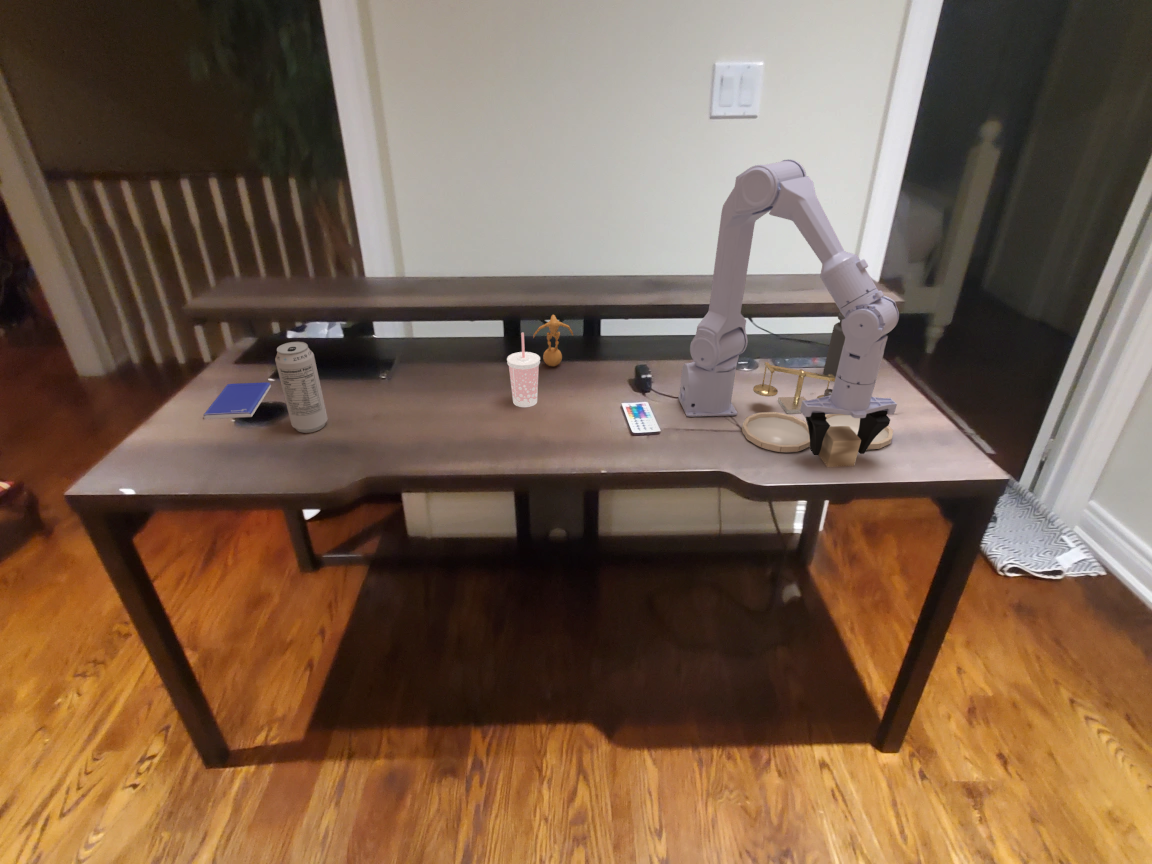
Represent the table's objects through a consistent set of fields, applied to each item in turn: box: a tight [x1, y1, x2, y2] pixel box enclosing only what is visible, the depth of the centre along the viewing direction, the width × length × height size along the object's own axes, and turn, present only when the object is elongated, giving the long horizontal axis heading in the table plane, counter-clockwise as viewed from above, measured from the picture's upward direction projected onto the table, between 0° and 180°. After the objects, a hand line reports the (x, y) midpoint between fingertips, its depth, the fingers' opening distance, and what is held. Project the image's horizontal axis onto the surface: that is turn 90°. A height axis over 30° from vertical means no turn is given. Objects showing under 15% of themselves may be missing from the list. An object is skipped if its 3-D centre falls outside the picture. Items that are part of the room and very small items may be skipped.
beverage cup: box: [506, 332, 541, 408], centre depth 118 cm, size 6×6×14 cm
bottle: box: [823, 311, 845, 378], centre depth 129 cm, size 6×6×15 cm
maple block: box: [818, 426, 861, 468], centre depth 104 cm, size 4×4×5 cm
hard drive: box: [203, 381, 272, 420], centre depth 121 cm, size 2×8×12 cm
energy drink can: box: [274, 341, 328, 434], centre depth 109 cm, size 6×6×15 cm
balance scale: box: [752, 361, 835, 415], centre depth 119 cm, size 17×5×9 cm, turn 94°
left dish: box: [741, 411, 810, 453], centre depth 111 cm, size 12×12×1 cm
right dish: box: [825, 414, 894, 451], centre depth 112 cm, size 12×12×1 cm
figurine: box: [532, 314, 574, 367], centre depth 132 cm, size 8×6×12 cm
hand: (836, 451), depth 105 cm, fingers open, 7 cm apart
